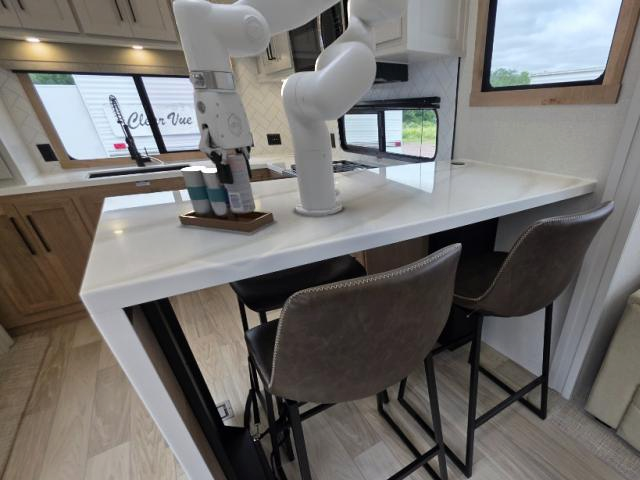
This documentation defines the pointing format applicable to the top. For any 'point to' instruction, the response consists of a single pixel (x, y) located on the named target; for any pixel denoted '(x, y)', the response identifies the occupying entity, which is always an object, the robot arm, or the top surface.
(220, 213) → the can
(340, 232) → the top surface
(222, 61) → the robot arm
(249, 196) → the energy drink
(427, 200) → the top surface
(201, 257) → the top surface
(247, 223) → the drinks tray
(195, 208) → the can
